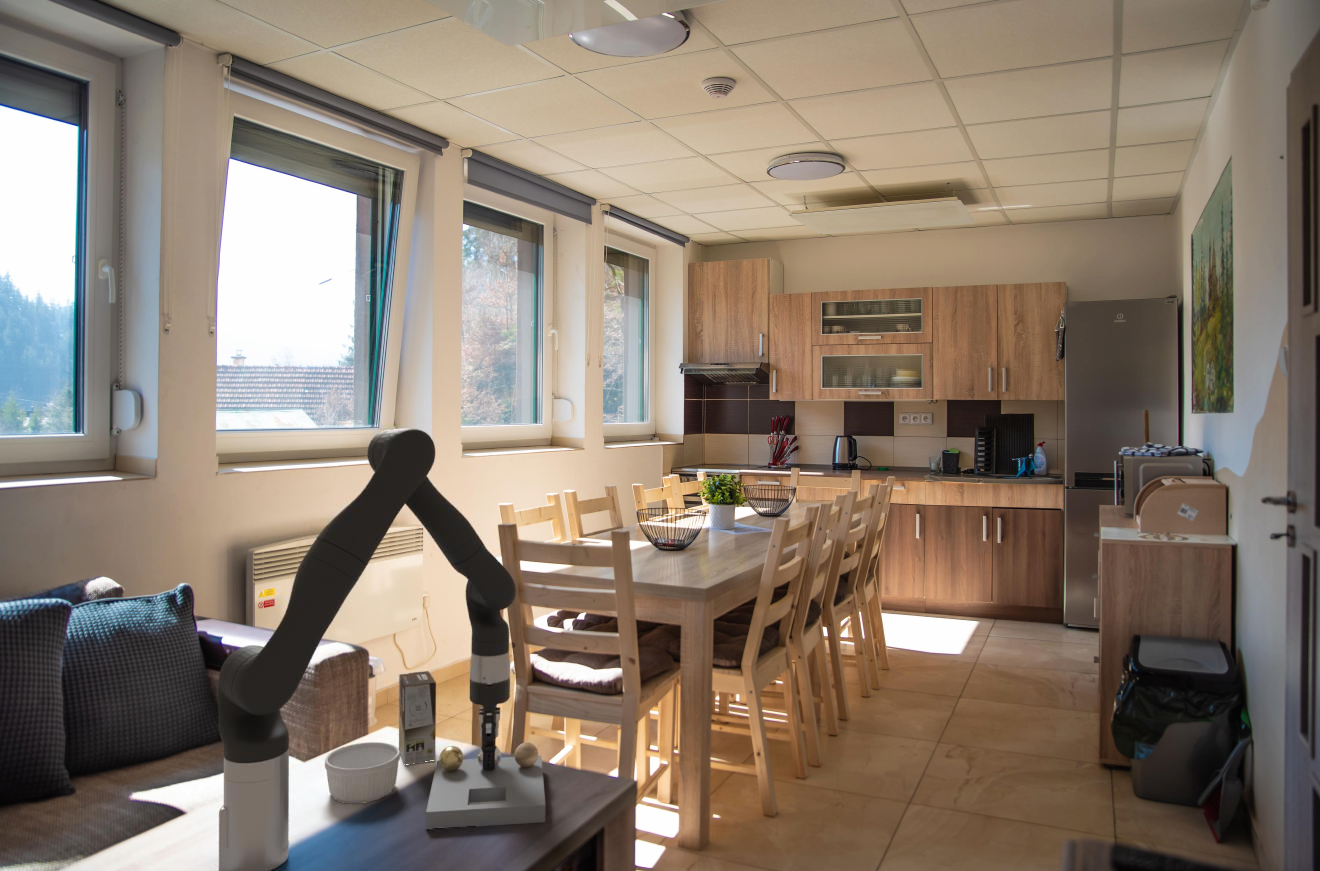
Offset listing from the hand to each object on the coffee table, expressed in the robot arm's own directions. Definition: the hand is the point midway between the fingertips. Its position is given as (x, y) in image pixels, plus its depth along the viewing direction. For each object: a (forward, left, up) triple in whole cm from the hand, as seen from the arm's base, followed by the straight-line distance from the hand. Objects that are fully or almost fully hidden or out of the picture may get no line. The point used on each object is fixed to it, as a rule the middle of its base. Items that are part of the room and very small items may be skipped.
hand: (489, 764), depth 165 cm
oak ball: (+7, 0, +1) cm, 7 cm away
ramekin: (-23, 0, -4) cm, 23 cm away
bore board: (0, -6, -4) cm, 7 cm away
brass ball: (-7, 0, +1) cm, 7 cm away
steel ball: (0, 0, +1) cm, 1 cm away
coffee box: (-15, +16, -4) cm, 22 cm away
